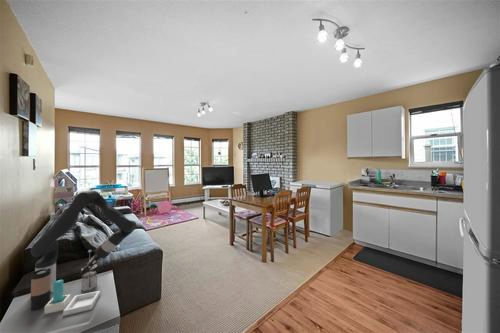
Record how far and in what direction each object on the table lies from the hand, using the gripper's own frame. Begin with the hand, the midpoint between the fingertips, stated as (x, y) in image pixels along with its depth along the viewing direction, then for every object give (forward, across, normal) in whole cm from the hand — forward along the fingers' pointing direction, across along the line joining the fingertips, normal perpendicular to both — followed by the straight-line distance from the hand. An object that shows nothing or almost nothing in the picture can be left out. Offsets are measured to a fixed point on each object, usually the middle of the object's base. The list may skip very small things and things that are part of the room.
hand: (82, 271), depth 113 cm
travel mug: (+27, -7, -1) cm, 27 cm away
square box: (+20, 0, +5) cm, 20 cm away
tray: (+12, +4, +14) cm, 18 cm away
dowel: (+19, 0, +4) cm, 20 cm away
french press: (+13, -15, +13) cm, 23 cm away
